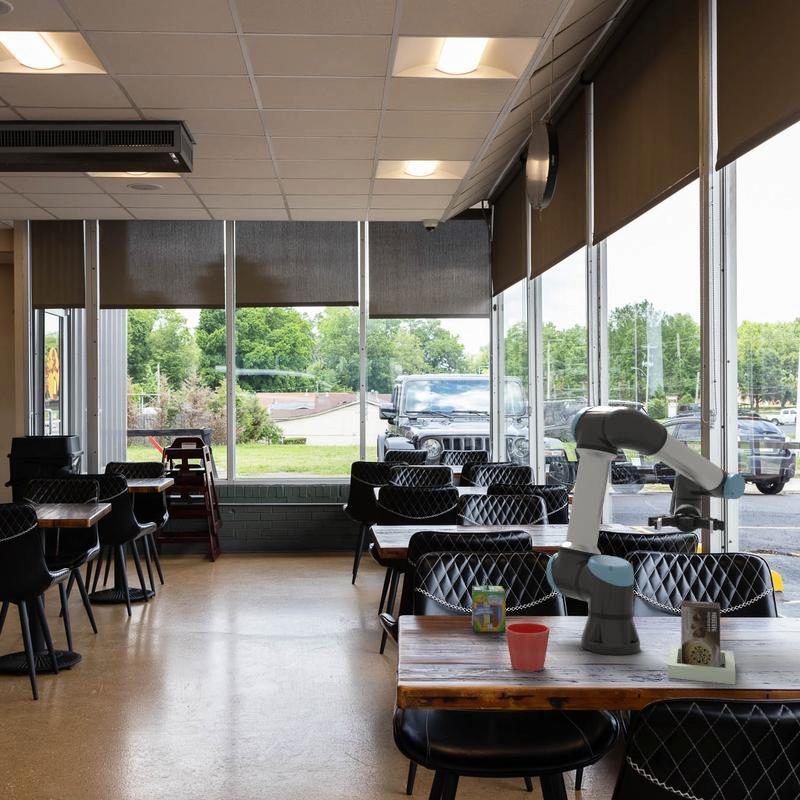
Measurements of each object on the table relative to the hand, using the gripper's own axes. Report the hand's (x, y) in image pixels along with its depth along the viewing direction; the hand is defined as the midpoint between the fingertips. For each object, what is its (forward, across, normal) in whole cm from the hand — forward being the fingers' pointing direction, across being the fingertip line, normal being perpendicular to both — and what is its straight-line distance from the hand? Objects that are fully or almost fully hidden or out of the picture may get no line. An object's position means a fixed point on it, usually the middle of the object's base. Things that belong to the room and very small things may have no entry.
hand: (684, 527), depth 242 cm
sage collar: (+24, -5, -32) cm, 40 cm away
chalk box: (+3, +53, -32) cm, 62 cm away
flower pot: (+37, +35, -32) cm, 60 cm away
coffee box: (+24, -5, -32) cm, 40 cm away
